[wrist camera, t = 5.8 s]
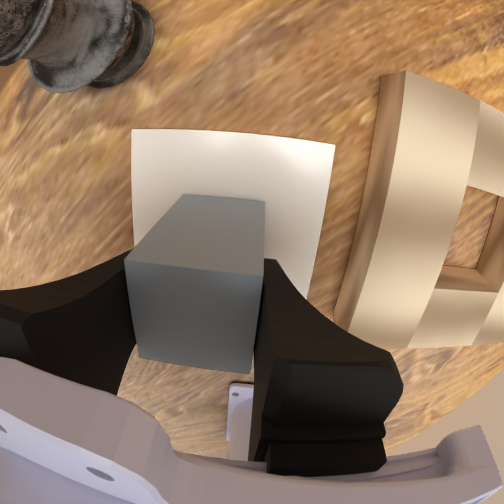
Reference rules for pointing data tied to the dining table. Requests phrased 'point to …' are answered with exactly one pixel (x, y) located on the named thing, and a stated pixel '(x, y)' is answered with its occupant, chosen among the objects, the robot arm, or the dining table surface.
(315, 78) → the dining table surface
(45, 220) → the dining table surface
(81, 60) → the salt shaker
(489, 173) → the pocket board
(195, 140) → the coaster
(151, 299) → the peg
